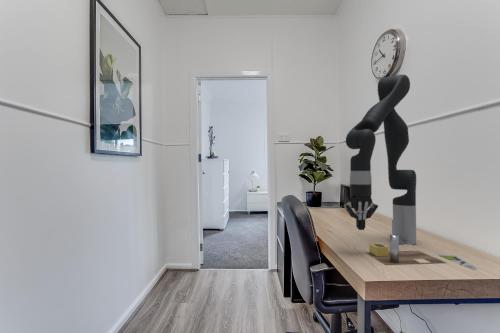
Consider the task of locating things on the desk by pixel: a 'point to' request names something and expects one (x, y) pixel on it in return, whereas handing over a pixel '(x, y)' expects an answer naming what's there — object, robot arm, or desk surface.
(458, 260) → the handheld gaming device
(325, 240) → the desk surface
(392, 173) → the robot arm
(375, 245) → the yellow square block
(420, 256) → the board
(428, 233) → the desk surface
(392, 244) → the metal cylinder
